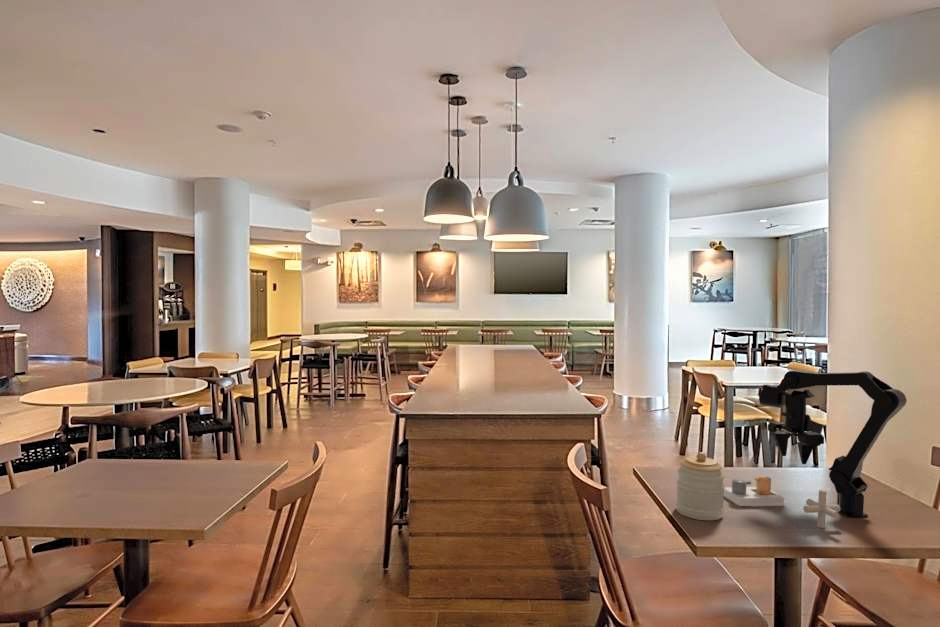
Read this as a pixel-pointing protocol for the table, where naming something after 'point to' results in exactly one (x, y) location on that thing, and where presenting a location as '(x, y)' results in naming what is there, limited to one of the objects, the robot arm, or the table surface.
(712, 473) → the jar
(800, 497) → the table surface
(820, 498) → the pipe connector
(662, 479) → the table surface
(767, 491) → the orange rounded tapered piece
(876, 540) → the table surface
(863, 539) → the table surface
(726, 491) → the housing
